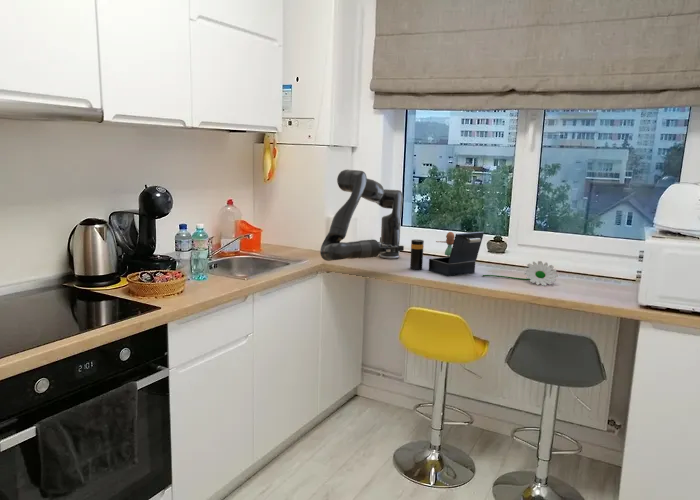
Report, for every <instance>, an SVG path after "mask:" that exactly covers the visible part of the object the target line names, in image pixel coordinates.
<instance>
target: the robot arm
mask: <svg viewBox="0 0 700 500" xmlns="http://www.w3.org/2000/svg"><path fill="white" fill-rule="evenodd" d="M336 182H337V187H338V188H339V189H340V191H342V192H345V193H347V192H348V193H351V194H350V195H349V197H348V199H347V200H346V201H345V203H344V204H343V205H342V206H341V207H340V208H339V209H338V210H337V211H336V212H335V214H334V216H333V217H332V220H331V224H330V225H329V226H330V227H329V231H328V232H327V234H326V236H325V238H324V240H323V242H322V244H321V246H320V253H319V254H320V257H321V258H322V260H324V261H326V262H332V261H340V260H346V259H347V260H350V259H351V260H354V259H372V258H377V257H380V258H381V259H387V260H395V259H399V258H400V252H404V249H405V246H404V245H401V244H400V243H401V242H400V240H401V220H402V214H403V213H402V212H403V203H404V202H403V201H404V196H403V192H402V191H401V190H398V189H387V188H386V189H385V188H384V187H383V185H382V184H381V183H380V182H378V181H376V180H374V179H371V178H368V177H367V174H366V171H363V170H360V169H359V170H358V169H347V168H346V169H343V170H341V171H340V172H339V173H338V175H337V177H336ZM361 198H362V199H365V200H366V201H368V202H371V203H375V204H377V205H378V206H380V208H382V209H388V210H391V212H390V213H389V214H386V215H383V216H381V222H380V223H381V224H380V225H381V226H380V237H379V241H378V240H376V239H362V240H360V239H359V240H356V241H355V240H354V241H345V242H343V240H344V239H345V238H346V236H347V233H348V229H349V226H350V223H351V220H352V219H353V215H354V213H355V211H356V209H357V207H358V205H359V203H360V200H361Z"/></svg>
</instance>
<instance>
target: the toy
mask: <svg viewBox="0 0 700 500" xmlns="http://www.w3.org/2000/svg"><path fill="white" fill-rule="evenodd" d="M445 238H446V240H444V241H442V240H435V243H444V244H447V248H446V249H445V251H444V255H445V256H446V257H450V254H451V250H452V247H453V243H454V239H455V233H453V232H452V231H448V232H447V233H446V235H445Z"/></svg>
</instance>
